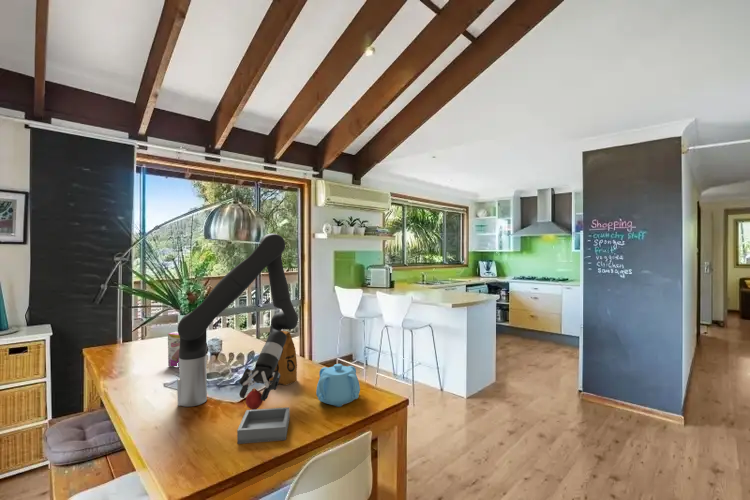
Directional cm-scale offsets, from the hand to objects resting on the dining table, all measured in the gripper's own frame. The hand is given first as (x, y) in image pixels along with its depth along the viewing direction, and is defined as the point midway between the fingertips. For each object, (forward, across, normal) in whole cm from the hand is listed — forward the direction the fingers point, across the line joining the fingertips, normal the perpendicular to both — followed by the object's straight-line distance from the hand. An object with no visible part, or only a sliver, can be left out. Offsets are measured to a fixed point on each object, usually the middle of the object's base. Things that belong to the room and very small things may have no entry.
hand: (252, 398), depth 134 cm
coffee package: (-18, -5, +24) cm, 31 cm away
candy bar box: (-20, -63, +28) cm, 72 cm away
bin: (+11, +12, -4) cm, 17 cm away
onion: (+3, 0, +4) cm, 5 cm away
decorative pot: (-9, +26, +16) cm, 31 cm away
